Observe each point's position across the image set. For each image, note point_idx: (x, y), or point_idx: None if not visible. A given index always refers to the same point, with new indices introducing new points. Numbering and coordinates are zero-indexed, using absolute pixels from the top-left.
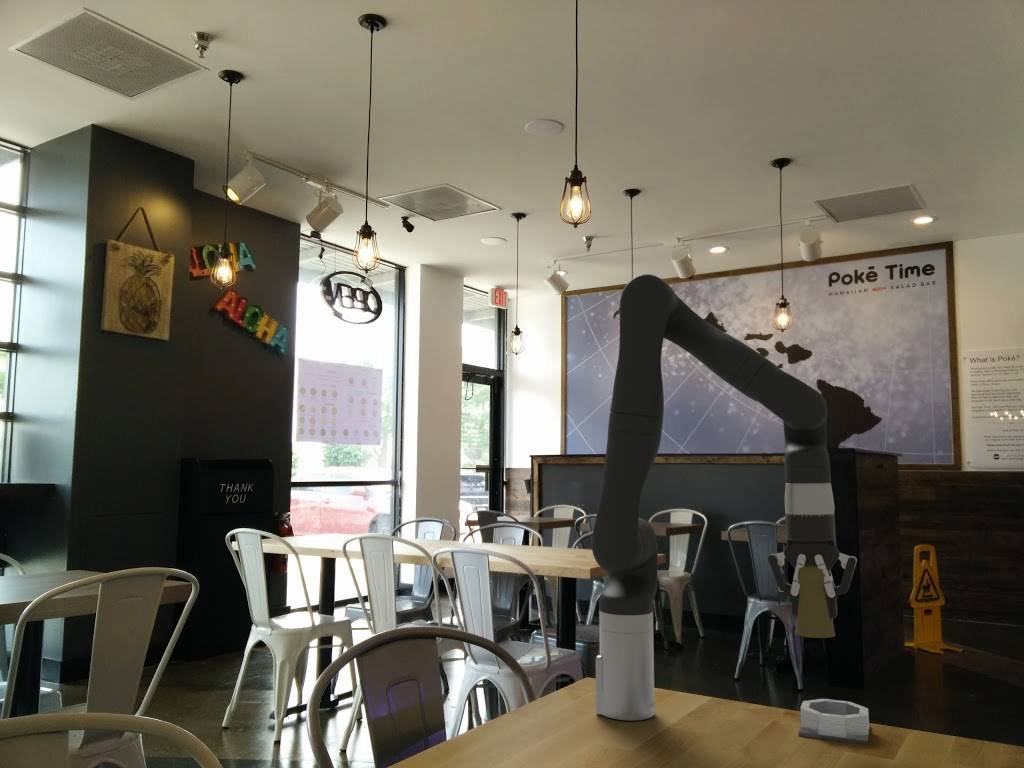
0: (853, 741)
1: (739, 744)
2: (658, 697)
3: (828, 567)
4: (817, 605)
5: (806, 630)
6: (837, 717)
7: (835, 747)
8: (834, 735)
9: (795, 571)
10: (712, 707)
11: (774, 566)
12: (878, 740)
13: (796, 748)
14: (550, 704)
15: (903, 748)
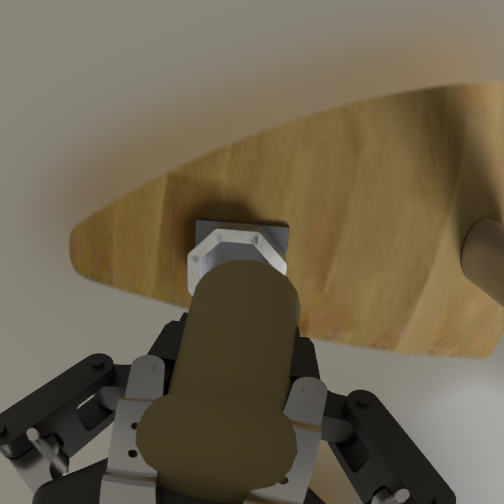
0: (214, 220)
1: (366, 161)
2: (448, 328)
3: (107, 461)
4: (214, 323)
5: (267, 274)
6: (229, 229)
7: (238, 192)
8: (238, 224)
9: (310, 465)
10: (396, 315)
11: (420, 474)
12: (185, 245)
13: (290, 168)
14: None
15: (156, 222)
